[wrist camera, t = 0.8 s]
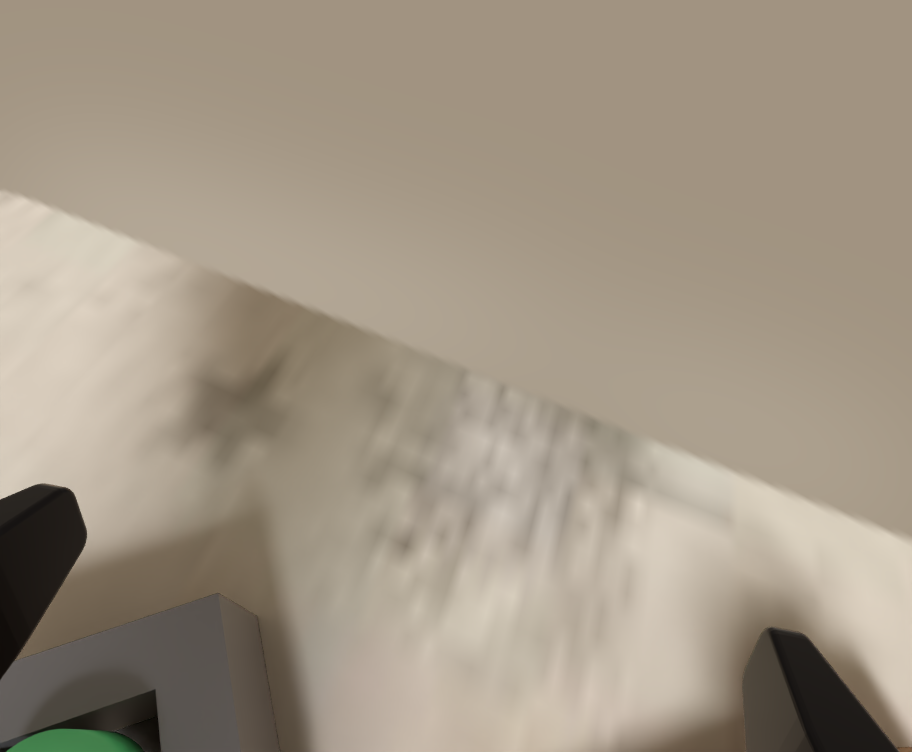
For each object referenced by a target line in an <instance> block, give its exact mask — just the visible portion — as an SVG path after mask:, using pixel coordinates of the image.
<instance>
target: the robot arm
mask: <svg viewBox="0 0 912 752" xmlns="http://www.w3.org/2000/svg"><path fill="white" fill-rule="evenodd" d="M86 539H87V530H86V526H85V523H84V521H83V518H82V515H81V512H80V509H79V506H78V503H77V500H76V497H75V495H74V493H73V492H72V491H71V490H70V489H68V488H66V487H61V486H56V485H51V484H37V485H34V486H31V487H29V488H27V489H24V490H22V491H20V492H17V493H15V494H12V495H10V496H8V497H5V498H3V499H1V500H0V680H1V678H2V677H3V676H4V674H5V673H6V672H7V670H8V669H9V668H10V666H11V665H12V663H13V662H14V660H15V659H16V658H17V656H18V655H19V653H20V652H21V650H22V649H23V647H24V646H25V644H26V643H27V641H28V639H29V638H30V636H31V635H32V633H33V632H34V630H35V628H36V627H37V625H38V623H39V622H40V620H41V618H42V617H43V615H44V613H45V612H46V610H47V608H48V607H49V605H50V603H51V602H52V600H53V598H54V597H55V595H56V593H57V592H58V590H59V589H60V587H61V585H62V584H63V582H64V580H65V579H66V577H67V575H68V574H69V572H70V570H71V569H72V567H73V565H74V564H75V562H76V560H77V559H78V557H79V555H80V554H81V552H82V550H83V548H84V546H85V543H86ZM742 691H743V708H744V725H745V742H746V752H899V750H898V749H897V748H896V747H895V745H894V744H893V743H892V742H891V740H890V739H889V738H888V737H887V735H886V734H885V733H884V732H883V730H882V729H881V728H880V727H879V725H878V724H877V723H876V722H875V720H874V719H873V718H872V717H871V715H870V714H869V713H868V712H867V710H866V709H865V708H864V707H863V705H862V704H861V703H860V702H859V700H858V699H857V698H856V697H855V695H854V694H853V693H852V692H851V690H850V689H849V688H848V687H847V685H846V684H845V683H844V682H843V680H842V679H841V678H840V677H839V675H838V674H837V673H836V672H835V670H834V669H833V668H832V667H831V665H830V664H829V663H828V662H827V660H826V659H825V658H824V657H823V655H822V654H821V653H820V652H819V650H818V649H817V648H816V647H815V645H814V644H813V643H812V642H811V640H810V639H809V638H808V637H806V636H805V635H804V634H802V633H800V632H796V631H791V630H786V629H781V628H776V627H767V628H765V629H764V630H763V632H762V633H761V635H760V637H759V639H758V641H757V643H756V646H755V648H754V650H753V652H752V654H751V656H750V659H749V661H748V663H747V665H746V667H745V670H744V674H743V684H742Z"/></svg>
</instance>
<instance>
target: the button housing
mask: <svg viewBox="0 0 912 752" xmlns="http://www.w3.org/2000/svg"><path fill="white" fill-rule="evenodd" d="M155 716H158V722H159V734H160V745H161V752H280V749H279V743H278V737H277V731H276V725H275V720H274V714H273V708H272V702H271V696H270V690H269V684H268V678H267V672H266V666H265V661H264V655H263V649H262V643H261V637H260V631H259V625H258V619H257V616H256V615H254V614H253V613H251V612H249V611H248V610H246V609H244V608H243V607H241V606H239V605H238V604H236V603H234V602H233V601H231V600H229V599H228V598H226V597H224V596H223V595H221V594H219V593H216V594H213V595H210V596H208V597H205V598H202V599H199V600H196V601H193V602H190V603H187V604H184V605H181V606H178V607H175V608H172V609H169V610H166V611H163V612H160V613H157V614H154V615H151V616H148V617H145V618H142V619H139V620H136V621H133V622H130V623H127V624H124V625H121V626H118V627H115V628H112V629H109V630H106V631H103V632H100V633H97V634H94V635H91V636H88V637H85V638H82V639H79V640H76V641H73V642H70V643H67V644H64V645H61V646H58V647H55V648H52V649H49V650H46V651H43V652H40V653H37V654H34V655H31V656H28V657H25V658H22V659H19V660H16V661H14V662H13V663H12V665H11V666H10V668H9V669H8V670H7V672H6V673H5V674H4V676H3V677H2V678H1V680H0V752H6V751H8V750H9V749H10V748H12V747H13V746H15V745H16V744H17V743H19V742H21V741H23V740H25V739H26V738H28V737H31V736H33V735H35V734H38V733H41V732H44V731H48V730H54V729H81V730H102V731H112V732H113V731H116V730H119V729H121V728H124V727H127V726H130V725H133V724H135V723H138V722H141V721H144V720H147V719H150V718H152V717H155Z"/></svg>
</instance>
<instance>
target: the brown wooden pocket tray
mask: <svg viewBox="0 0 912 752" xmlns="http://www.w3.org/2000/svg"><path fill="white" fill-rule="evenodd" d="M896 748H897V749H898V750H899V752H912V747H896Z"/></svg>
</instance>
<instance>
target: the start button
mask: <svg viewBox="0 0 912 752" xmlns="http://www.w3.org/2000/svg"><path fill="white" fill-rule="evenodd" d="M6 752H144V750H143V749H142V748H141V747H140V746H139V745H138V744H137V743H136V742H135V741H133V740H132V739H130V738H129V737H127V736H125V735H123V734H120V733H117V732H112V731H102V730H81V729H54V730H48V731H44V732H41V733H38V734H35V735H33V736H31V737H28V738H26V739H25V740H23V741H21V742H19V743H17V744H16V745H15V746H13V747H12V748H10V749H9V750H8V751H6Z"/></svg>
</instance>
